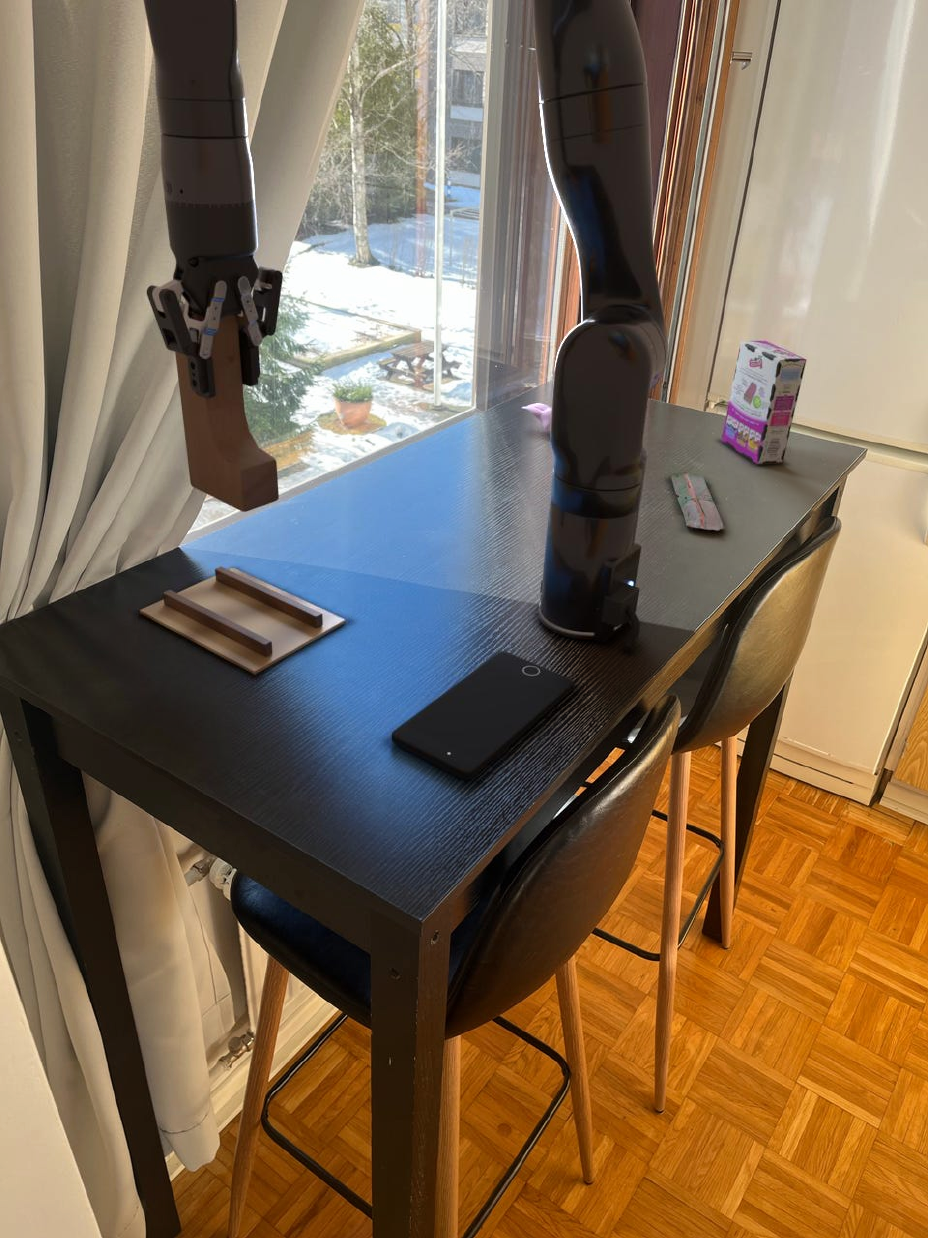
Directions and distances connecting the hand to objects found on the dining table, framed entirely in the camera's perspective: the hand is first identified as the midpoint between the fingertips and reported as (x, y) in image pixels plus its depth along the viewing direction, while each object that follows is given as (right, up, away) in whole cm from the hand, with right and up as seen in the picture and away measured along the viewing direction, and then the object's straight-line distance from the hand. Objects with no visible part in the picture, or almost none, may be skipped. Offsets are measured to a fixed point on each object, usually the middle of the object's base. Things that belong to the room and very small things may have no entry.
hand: (227, 388), depth 90 cm
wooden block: (-1, -9, +6) cm, 11 cm away
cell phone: (+25, -31, 0) cm, 39 cm away
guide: (-1, -22, +13) cm, 25 cm away
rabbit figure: (+38, +8, +65) cm, 76 cm away
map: (+55, -6, +44) cm, 71 cm away
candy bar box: (+68, +5, +62) cm, 93 cm away
